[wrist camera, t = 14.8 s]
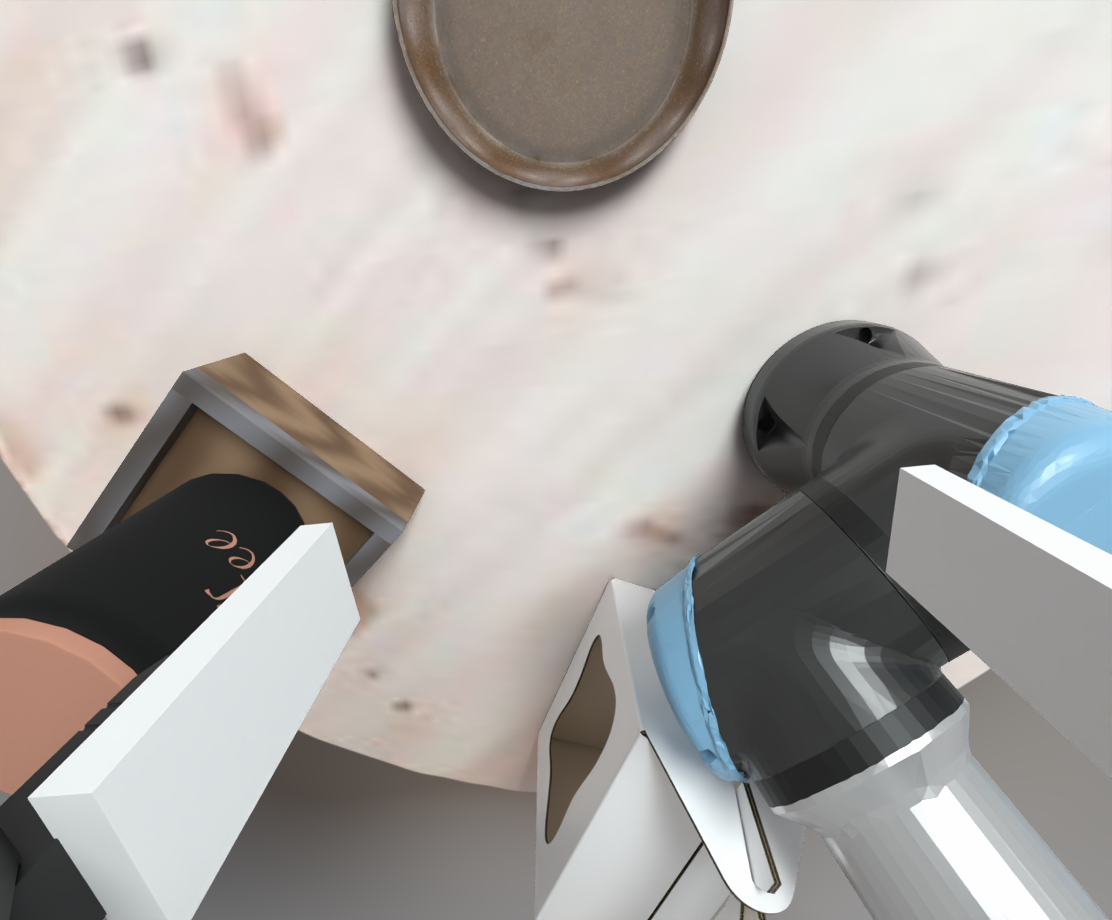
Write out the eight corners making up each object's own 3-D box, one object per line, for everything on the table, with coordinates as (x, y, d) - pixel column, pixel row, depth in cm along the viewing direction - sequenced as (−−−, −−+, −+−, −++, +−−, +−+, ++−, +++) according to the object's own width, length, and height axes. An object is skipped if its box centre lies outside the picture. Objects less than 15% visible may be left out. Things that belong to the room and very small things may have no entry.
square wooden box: (425, 490, 45) (402, 531, 38) (313, 613, 50) (275, 670, 43) (245, 352, 41) (182, 371, 34) (140, 502, 46) (66, 546, 39)
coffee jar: (314, 595, 42) (160, 816, 25) (179, 576, 41) (-72, 790, 25) (317, 479, 38) (139, 648, 22) (169, 455, 38) (-136, 611, 21)
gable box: (611, 573, 49) (682, 928, 23) (734, 610, 51) (930, 979, 25) (536, 734, 57) (526, 1140, 30) (646, 762, 58) (724, 1167, 32)
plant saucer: (410, 186, 37) (398, 179, 34) (395, -215, 30) (377, -271, 26) (691, 206, 38) (704, 201, 35) (746, -181, 30) (768, -231, 27)
